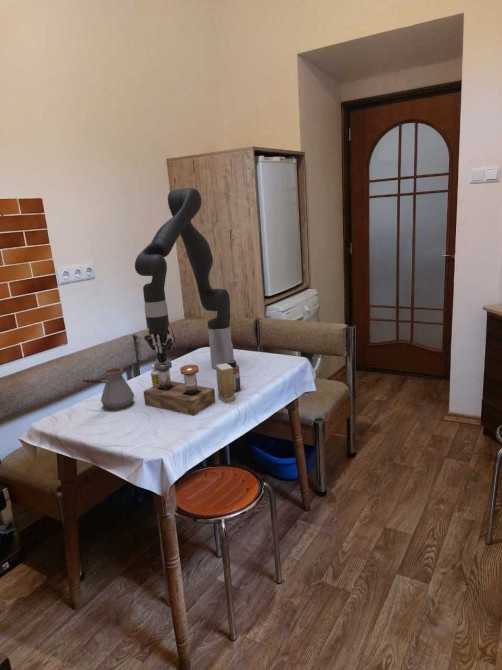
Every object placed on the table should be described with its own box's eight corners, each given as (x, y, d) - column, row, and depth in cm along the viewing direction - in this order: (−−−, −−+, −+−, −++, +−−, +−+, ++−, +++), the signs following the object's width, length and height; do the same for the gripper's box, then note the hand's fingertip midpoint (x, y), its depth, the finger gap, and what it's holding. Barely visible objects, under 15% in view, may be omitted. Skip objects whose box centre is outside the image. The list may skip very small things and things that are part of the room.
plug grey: (165, 384, 172) (162, 359, 170) (177, 387, 169) (174, 361, 167) (153, 390, 168) (150, 365, 165) (166, 393, 164) (163, 367, 162)
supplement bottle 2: (221, 390, 175) (218, 361, 172) (232, 385, 180) (230, 357, 177) (232, 394, 171) (230, 364, 168) (244, 388, 176) (241, 359, 173)
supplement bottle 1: (163, 385, 185) (160, 361, 183) (169, 388, 181) (166, 364, 179) (150, 388, 183) (147, 364, 180) (156, 392, 178) (153, 368, 176)
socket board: (168, 392, 177) (166, 380, 176) (215, 402, 165) (214, 388, 164) (145, 404, 167) (143, 391, 166) (193, 415, 156) (192, 401, 154)
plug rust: (190, 389, 166) (188, 363, 164) (204, 392, 163) (201, 365, 160) (179, 395, 161) (176, 369, 159) (193, 398, 158) (190, 371, 156)
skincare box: (218, 397, 169) (214, 364, 166) (229, 394, 171) (226, 362, 168) (224, 403, 164) (221, 369, 161) (235, 400, 165) (233, 367, 162)
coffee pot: (115, 397, 176) (109, 359, 172) (141, 400, 172) (136, 360, 168) (75, 422, 157) (67, 379, 153) (103, 425, 153) (96, 382, 149)
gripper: (178, 312, 161) (184, 361, 165) (150, 310, 168) (156, 357, 172) (163, 317, 155) (169, 367, 159) (134, 315, 162) (141, 363, 166)
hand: (162, 362), depth 166 cm, fingers closed
